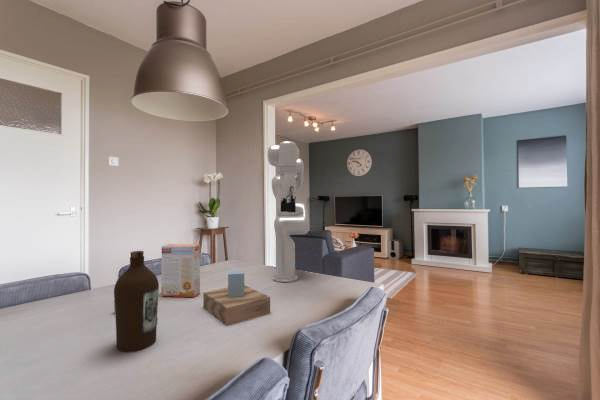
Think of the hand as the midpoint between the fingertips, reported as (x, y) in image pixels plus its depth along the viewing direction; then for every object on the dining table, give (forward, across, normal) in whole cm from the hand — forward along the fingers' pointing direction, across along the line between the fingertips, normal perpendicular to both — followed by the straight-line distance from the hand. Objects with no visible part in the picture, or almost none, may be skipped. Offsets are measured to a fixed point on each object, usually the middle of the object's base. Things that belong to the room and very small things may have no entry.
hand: (287, 211), depth 122 cm
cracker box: (+34, -14, -42) cm, 56 cm away
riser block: (+35, +11, -23) cm, 43 cm away
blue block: (+29, +11, -23) cm, 39 cm away
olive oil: (+34, +26, -52) cm, 68 cm away
